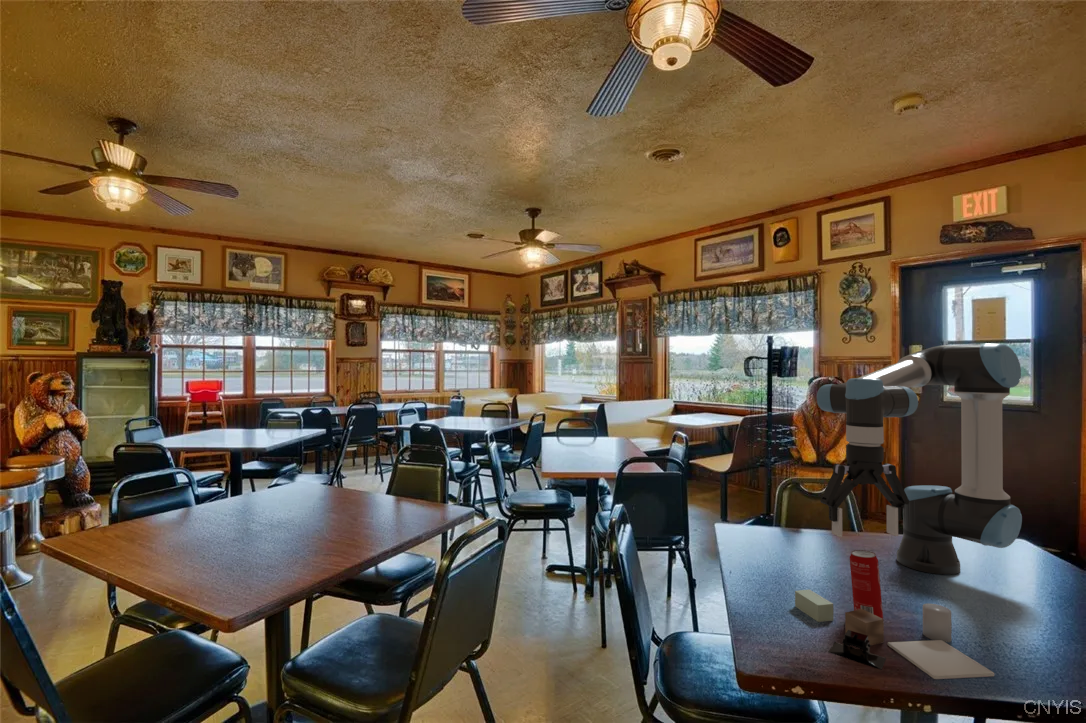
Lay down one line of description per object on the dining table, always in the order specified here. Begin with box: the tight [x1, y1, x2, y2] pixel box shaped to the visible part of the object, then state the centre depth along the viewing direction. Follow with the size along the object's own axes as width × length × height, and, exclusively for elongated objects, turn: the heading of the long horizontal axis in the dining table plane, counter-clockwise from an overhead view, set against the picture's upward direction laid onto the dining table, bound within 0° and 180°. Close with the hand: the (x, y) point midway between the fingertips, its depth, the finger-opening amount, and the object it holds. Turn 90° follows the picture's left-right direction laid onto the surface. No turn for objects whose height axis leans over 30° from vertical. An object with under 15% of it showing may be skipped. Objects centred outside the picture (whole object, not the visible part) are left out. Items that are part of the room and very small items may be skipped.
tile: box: [887, 639, 995, 680], centre depth 104 cm, size 12×12×1 cm
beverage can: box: [849, 549, 884, 620], centre depth 122 cm, size 6×6×15 cm
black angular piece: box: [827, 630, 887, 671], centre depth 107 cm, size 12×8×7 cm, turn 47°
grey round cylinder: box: [922, 603, 953, 643], centre depth 113 cm, size 5×5×6 cm
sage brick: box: [794, 589, 834, 623], centre depth 124 cm, size 4×8×4 cm, turn 11°
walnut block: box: [844, 609, 885, 646], centre depth 113 cm, size 5×5×5 cm
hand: (864, 534), depth 122 cm, fingers open, 13 cm apart
